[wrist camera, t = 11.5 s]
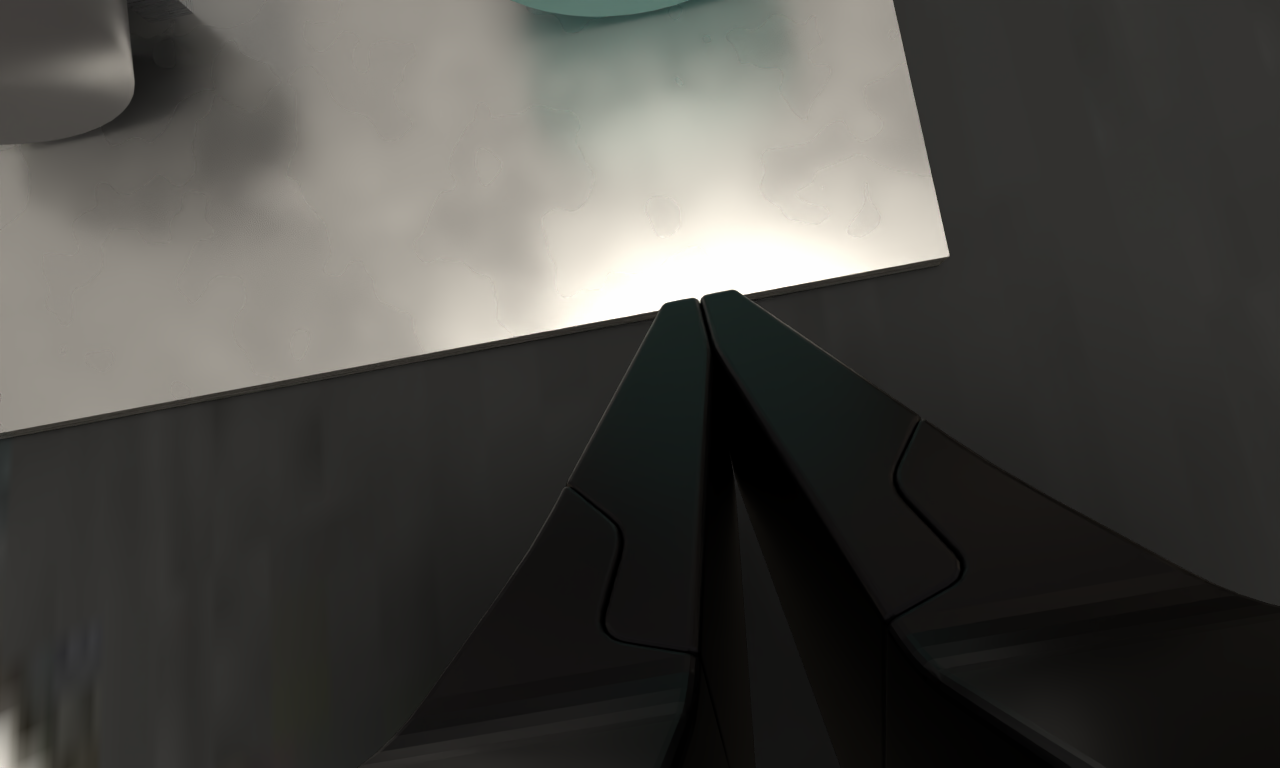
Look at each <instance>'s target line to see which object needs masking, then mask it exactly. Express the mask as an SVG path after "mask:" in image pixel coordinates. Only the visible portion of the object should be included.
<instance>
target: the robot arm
mask: <svg viewBox="0 0 1280 768" xmlns="http://www.w3.org/2000/svg"><path fill="white" fill-rule="evenodd" d="M730 457H731V458H730ZM731 461H732V464H731ZM732 465H733V469H734V473H735V477H736V480H737V483H738V486H739V490H740V493H741V496H742V498H743V501H744V504H745V507H746V509H747V512H748V515H749V518H750V520H751V523H752V526H753V528H754V531H755V534H756V537H757V539H758V542H759V545H760V548H761V550H762V553H763V556H764V559H765V561H766V564H767V567H768V570H769V572H770V575H771V578H772V580H773V583H774V586H775V589H776V591H777V594H778V597H779V600H780V602H781V605H782V608H783V611H784V613H785V616H786V619H787V621H788V624H789V627H790V630H791V632H792V635H793V638H794V641H795V643H796V646H797V649H798V652H799V654H800V657H801V660H802V663H803V665H804V668H805V671H806V673H807V676H808V679H809V682H810V684H811V687H812V690H813V693H814V695H815V698H816V701H817V704H818V706H819V709H820V712H821V715H822V717H823V720H824V723H825V725H826V728H827V731H828V734H829V736H830V739H831V742H832V745H833V747H834V750H835V753H836V756H837V758H838V761H839V764H840V766H841V768H1280V606H1277V605H1272V604H1268V603H1265V602H1262V601H1259V600H1256V599H1253V598H1250V597H1247V596H1243V595H1241V594H1238V593H1236V592H1233V591H1231V590H1228V589H1226V588H1223V587H1221V586H1219V585H1216V584H1214V583H1211V582H1209V581H1207V580H1205V579H1203V578H1201V577H1199V576H1197V575H1195V574H1193V573H1191V572H1189V571H1187V570H1185V569H1183V568H1182V567H1180V566H1178V565H1176V564H1174V563H1172V562H1170V561H1169V560H1167V559H1165V558H1163V557H1161V556H1159V555H1157V554H1156V553H1154V552H1152V551H1150V550H1148V549H1146V548H1144V547H1143V546H1141V545H1139V544H1137V543H1135V542H1133V541H1132V540H1130V539H1128V538H1126V537H1124V536H1122V535H1120V534H1119V533H1117V532H1115V531H1113V530H1111V529H1109V528H1107V527H1106V526H1104V525H1102V524H1100V523H1098V522H1096V521H1094V520H1093V519H1091V518H1089V517H1087V516H1085V515H1083V514H1081V513H1080V512H1078V511H1076V510H1074V509H1072V508H1070V507H1069V506H1067V505H1065V504H1063V503H1061V502H1059V501H1057V500H1056V499H1054V498H1052V497H1050V496H1048V495H1046V494H1045V493H1043V492H1041V491H1039V490H1038V489H1036V488H1034V487H1032V486H1031V485H1029V484H1027V483H1025V482H1024V481H1022V480H1020V479H1018V478H1017V477H1015V476H1013V475H1011V474H1010V473H1008V472H1006V471H1004V470H1003V469H1001V468H999V467H997V466H995V465H994V464H992V463H991V462H989V461H988V460H986V459H984V458H983V457H981V456H980V455H978V454H977V453H975V452H974V451H972V450H970V449H969V448H967V447H966V446H964V445H963V444H961V443H960V442H958V441H956V440H955V439H953V438H952V437H950V436H949V435H947V434H946V433H944V432H943V431H942V430H940V429H939V428H937V427H936V426H934V425H933V424H931V423H930V422H928V421H927V420H921V418H920V416H919V415H918V414H916V413H915V412H913V411H912V410H910V409H909V408H907V407H906V406H905V405H903V404H902V403H900V402H899V401H897V400H896V399H894V398H893V397H891V396H890V395H889V394H887V393H886V392H884V391H883V390H881V389H880V388H878V387H877V386H875V385H874V384H873V383H871V382H870V381H868V380H867V379H865V378H864V377H862V376H861V375H859V374H858V373H857V372H855V371H854V370H852V369H851V368H849V367H848V366H846V365H845V364H843V363H842V362H840V361H839V360H838V359H836V358H835V357H833V356H832V355H830V354H829V353H827V352H826V351H824V350H823V349H822V348H820V347H819V346H817V345H816V344H814V343H813V342H811V341H810V340H808V339H807V338H806V337H804V336H803V335H801V334H800V333H798V332H797V331H795V330H794V329H792V328H791V327H790V326H788V325H787V324H785V323H784V322H782V321H781V320H779V319H778V318H776V317H775V316H773V315H772V314H771V313H769V312H768V311H766V310H765V309H763V308H762V307H760V306H759V305H757V304H756V303H755V302H753V301H752V300H750V299H749V298H747V297H746V296H744V295H743V294H741V293H740V292H739V291H737V290H734V289H730V290H725V291H720V292H715V293H710V294H705V295H703V296H702V297H701V299H700V302H699V300H698V299H697V298H694V297H691V298H686V299H681V300H676V301H671V302H666V303H664V304H663V305H662V306H661V308H660V310H659V312H658V314H657V315H656V317H655V319H654V321H653V323H652V325H651V327H650V328H649V330H648V332H647V334H646V336H645V338H644V340H643V342H642V343H641V345H640V347H639V349H638V351H637V353H636V355H635V356H634V358H633V360H632V362H631V364H630V366H629V368H628V369H627V371H626V373H625V375H624V377H623V379H622V381H621V382H620V384H619V386H618V388H617V390H616V392H615V394H614V396H613V397H612V399H611V401H610V403H609V405H608V407H607V409H606V410H605V412H604V414H603V416H602V418H601V420H600V422H599V423H598V425H597V427H596V429H595V431H594V433H593V435H592V436H591V438H590V440H589V442H588V444H587V446H586V448H585V450H584V451H583V453H582V455H581V457H580V459H579V461H578V463H577V464H576V466H575V468H574V470H573V472H572V474H571V476H570V477H569V479H568V481H567V483H566V486H567V487H565V488H563V490H562V491H561V493H560V495H559V497H558V499H557V501H556V503H555V505H554V507H553V508H552V510H551V512H550V514H549V516H548V517H547V519H546V521H545V522H544V524H543V526H542V528H541V529H540V531H539V533H538V534H537V536H536V538H535V540H534V541H533V543H532V545H531V546H530V548H529V550H528V551H527V553H526V554H525V556H524V557H523V559H522V560H521V562H520V563H519V565H518V566H517V568H516V569H515V571H514V572H513V574H512V575H511V577H510V578H509V580H508V581H507V583H506V584H505V586H504V587H503V589H502V590H501V592H500V593H499V595H498V596H497V597H496V599H495V600H494V602H493V603H492V604H491V606H490V607H489V609H488V610H487V611H486V613H485V614H484V616H483V617H482V618H481V620H480V621H479V623H478V624H477V625H476V627H475V628H474V630H473V631H472V632H471V634H470V635H469V637H468V638H467V640H466V641H465V642H464V644H463V645H462V647H461V648H460V649H459V651H458V652H457V654H456V655H455V656H454V658H453V659H452V661H451V662H450V663H449V665H448V666H447V668H446V669H445V670H444V672H443V673H442V675H441V676H440V677H439V679H438V680H437V682H436V683H435V684H434V686H433V687H432V689H431V690H430V691H429V693H428V694H427V696H426V697H425V698H424V700H423V701H422V702H421V704H420V705H419V706H418V708H417V709H416V710H415V712H414V713H413V714H412V715H411V717H410V718H409V719H408V720H407V722H406V723H405V724H404V725H403V726H402V727H401V728H400V729H399V731H398V732H397V733H396V734H395V735H394V736H393V737H392V738H391V739H390V740H389V741H388V742H387V743H386V744H385V745H384V746H383V747H382V748H381V749H380V750H378V751H377V752H376V753H375V754H374V755H373V756H372V757H370V758H369V759H368V760H366V761H365V762H364V763H362V764H361V765H360V766H358V767H357V768H756V767H755V753H754V740H753V726H752V712H751V698H750V684H749V670H748V656H747V643H746V629H745V615H744V601H743V587H742V573H741V559H740V545H739V532H738V518H737V504H736V492H735V483H734V475H733V469H732Z"/></svg>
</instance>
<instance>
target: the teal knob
mask: <svg viewBox="0 0 1280 768" xmlns="http://www.w3.org/2000/svg"><path fill="white" fill-rule="evenodd" d="M511 1H514V2H517V3H519V4H522V5H525V6H528V7H531V8H535V9H539V10H543V11H546V12H552V13H558V14H564V15H572V16H587V17H602V16H620V15H630V14H637V13H642V12H648V11H654V10H658V9H662V8H665V7H669V6H673V5H677V4H679V3H682V2H685V1H688V0H511Z"/></svg>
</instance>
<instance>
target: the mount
mask: <svg viewBox="0 0 1280 768" xmlns="http://www.w3.org/2000/svg"><path fill="white" fill-rule="evenodd" d="M127 7H128V18H129V28H130V38H131V49H132V59H133V69H134V80H135V86H134V94H133V96H132V99H131V101H130V103H129V105H128V106H127V107H126V108H125V110H124V111H123V112H122V113H121V114H120V115H118V116H117V117H116V118H114V119H113V120H112V121H110V122H108V123H106V124H104V125H103V126H101V127H99V128H96V129H94V130H91V131H88V132H86V133H83V134H79V135H75V136H71V137H67V138H63V139H57V140H51V141H46V142H36V143H27V144H10V145H0V440H1V439H6V438H11V437H17V436H22V435H27V434H33V433H38V432H44V431H49V430H54V429H60V428H65V427H71V426H76V425H81V424H87V423H92V422H98V421H103V420H108V419H114V418H119V417H124V416H130V415H135V414H141V413H146V412H151V411H157V410H162V409H168V408H173V407H178V406H184V405H189V404H194V403H200V402H205V401H211V400H216V399H221V398H227V397H232V396H238V395H243V394H248V393H254V392H259V391H265V390H270V389H275V388H281V387H286V386H291V385H297V384H302V383H308V382H313V381H318V380H324V379H329V378H335V377H340V376H345V375H351V374H356V373H362V372H367V371H372V370H378V369H383V368H388V367H394V366H399V365H405V364H410V363H415V362H421V361H426V360H432V359H437V358H442V357H448V356H453V355H458V354H464V353H469V352H475V351H480V350H485V349H491V348H496V347H502V346H507V345H512V344H518V343H523V342H529V341H534V340H539V339H545V338H550V337H555V336H561V335H566V334H572V333H577V332H582V331H588V330H593V329H599V328H604V327H609V326H615V325H620V324H625V323H631V322H636V321H642V320H647V319H652V318H655V317H656V315H657V314H658V312H659V310H660V308H661V306H662V305H663V304H664V303H666V302H671V301H676V300H681V299H686V298H691V297H694V298H697V299H698V300H699V302H700V299H701V297H702V296H703V295H705V294H710V293H715V292H720V291H725V290H730V289H734V290H737V291H739V292H740V293H741V294H743V295H744V296H746V297H747V298H749V299H750V300H755V299H760V298H766V297H771V296H776V295H782V294H787V293H792V292H798V291H803V290H809V289H814V288H819V287H825V286H830V285H836V284H841V283H846V282H852V281H857V280H863V279H868V278H873V277H879V276H884V275H889V274H895V273H900V272H906V271H911V270H916V269H922V268H927V267H933V266H938V265H940V264H941V263H942V262H943V261H945V260H946V259H947V258H948V257H949V252H948V247H947V243H946V238H945V234H944V229H943V225H942V220H941V216H940V211H939V207H938V202H937V198H936V193H935V189H934V184H933V180H932V175H931V171H930V166H929V162H928V157H927V153H926V148H925V144H924V139H923V135H922V130H921V126H920V121H919V117H918V112H917V108H916V103H915V99H914V94H913V90H912V85H911V81H910V76H909V72H908V67H907V63H906V58H905V54H904V49H903V45H902V40H901V36H900V31H899V27H898V22H897V18H896V13H895V9H894V4H893V0H688V1H685V2H682V3H679V4H677V5H673V6H669V7H665V8H662V9H658V10H654V11H648V12H642V13H637V14H630V15H620V16H602V17H587V16H572V15H564V14H558V13H552V12H546V11H543V10H539V9H535V8H531V7H528V6H525V5H522V4H519V3H517V2H514V1H511V0H127Z"/></svg>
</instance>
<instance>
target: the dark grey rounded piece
mask: <svg viewBox="0 0 1280 768" xmlns="http://www.w3.org/2000/svg"><path fill="white" fill-rule="evenodd" d="M134 86H135V80H134V69H133V59H132V49H131V38H130V28H129V18H128V7H127V0H0V145H10V144H27V143H36V142H46V141H51V140H57V139H63V138H67V137H71V136H75V135H79V134H83V133H86V132H88V131H91V130H94V129H96V128H99V127H101V126H103V125H104V124H106V123H108V122H110V121H112V120H113V119H114V118H116V117H117V116H118V115H120V114H121V113H122V112H123V111H124V110H125V108H126V107H127V106H128V105H129V103H130V101H131V99H132V96H133V94H134Z"/></svg>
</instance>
